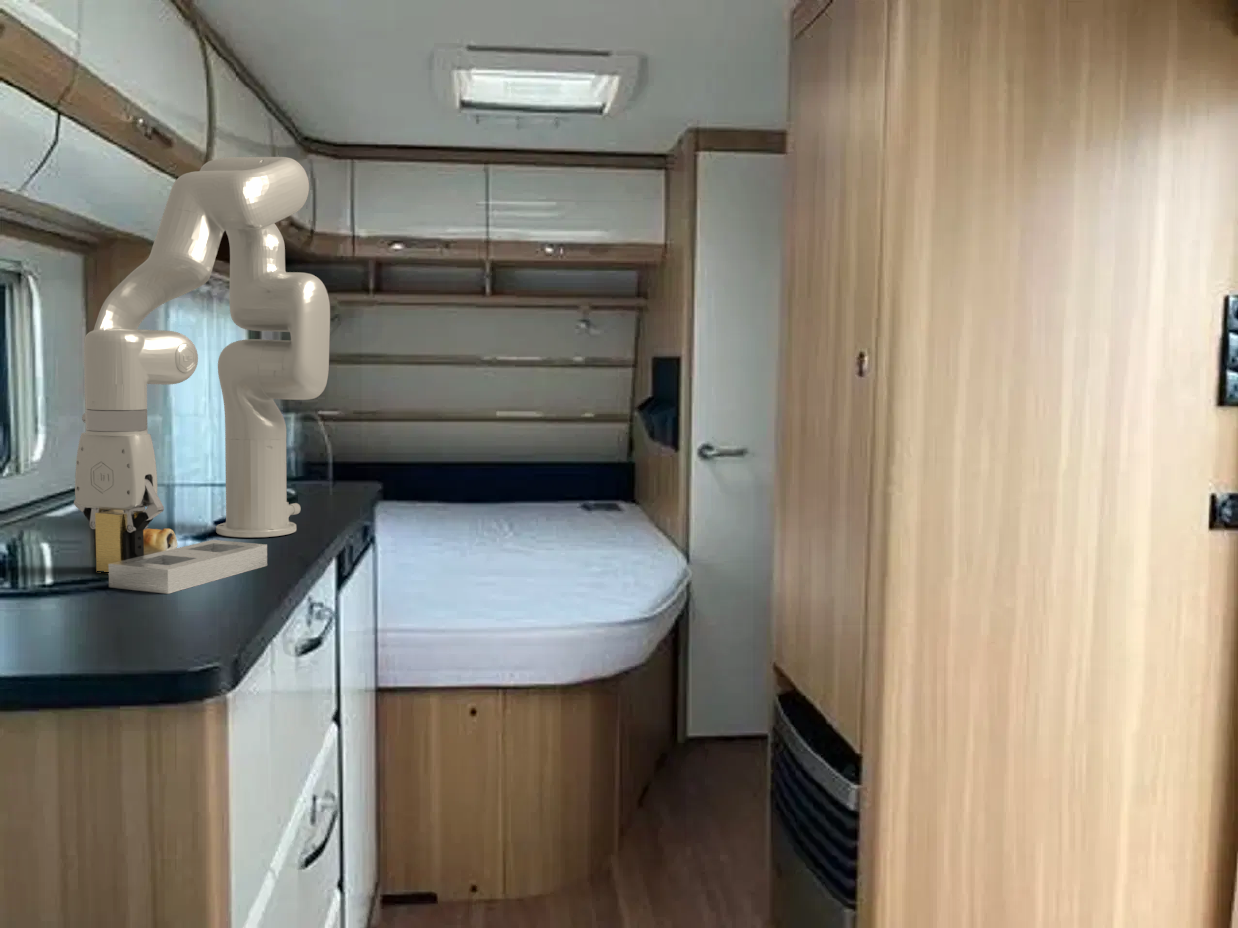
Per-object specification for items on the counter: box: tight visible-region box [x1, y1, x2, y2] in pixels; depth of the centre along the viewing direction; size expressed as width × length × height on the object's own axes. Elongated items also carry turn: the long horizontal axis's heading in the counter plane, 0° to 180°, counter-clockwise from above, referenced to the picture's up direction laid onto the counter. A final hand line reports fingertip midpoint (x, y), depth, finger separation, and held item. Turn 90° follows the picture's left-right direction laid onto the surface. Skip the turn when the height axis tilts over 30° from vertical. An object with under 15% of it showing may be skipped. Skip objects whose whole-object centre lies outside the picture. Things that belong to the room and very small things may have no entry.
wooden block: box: [95, 510, 137, 572], centre depth 149 cm, size 4×4×8 cm
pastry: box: [143, 528, 178, 556], centre depth 163 cm, size 9×7×4 cm
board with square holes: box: [108, 539, 268, 595], centre depth 147 cm, size 20×9×3 cm, turn 162°
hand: (119, 557), depth 149 cm, fingers closed on wooden block, 4 cm apart
